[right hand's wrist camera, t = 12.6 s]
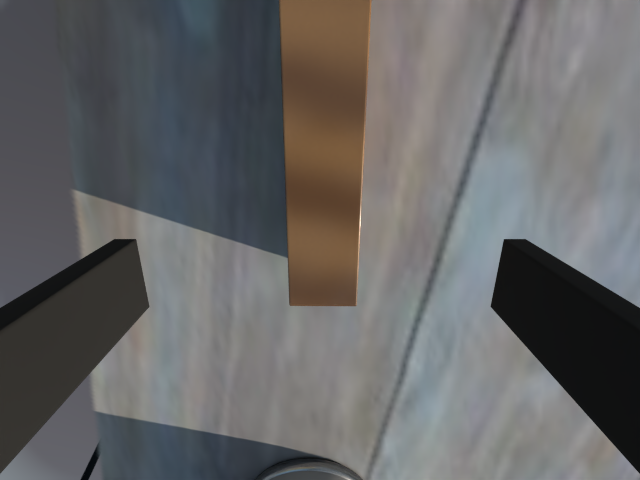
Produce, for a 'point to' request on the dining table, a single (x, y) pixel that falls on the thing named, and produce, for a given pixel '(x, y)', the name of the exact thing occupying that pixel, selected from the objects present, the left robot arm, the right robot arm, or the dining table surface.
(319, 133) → the bar
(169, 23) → the dining table surface
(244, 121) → the dining table surface
